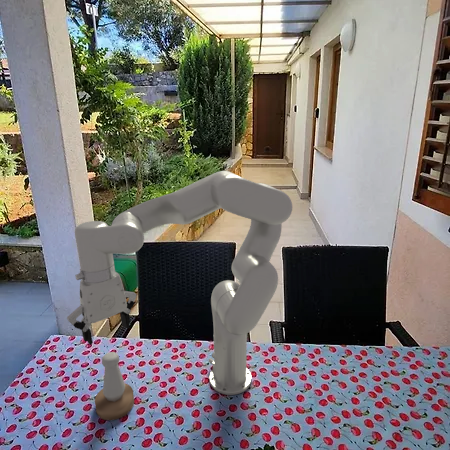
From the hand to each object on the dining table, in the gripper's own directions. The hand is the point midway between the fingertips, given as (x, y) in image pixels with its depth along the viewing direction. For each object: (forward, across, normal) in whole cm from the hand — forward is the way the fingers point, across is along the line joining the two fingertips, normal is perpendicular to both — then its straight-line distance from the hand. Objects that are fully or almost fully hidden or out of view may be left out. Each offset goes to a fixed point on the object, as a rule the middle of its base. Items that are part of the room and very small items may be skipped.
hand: (108, 333), depth 87 cm
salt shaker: (+20, -1, 0) cm, 20 cm away
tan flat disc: (+23, -1, 0) cm, 23 cm away
